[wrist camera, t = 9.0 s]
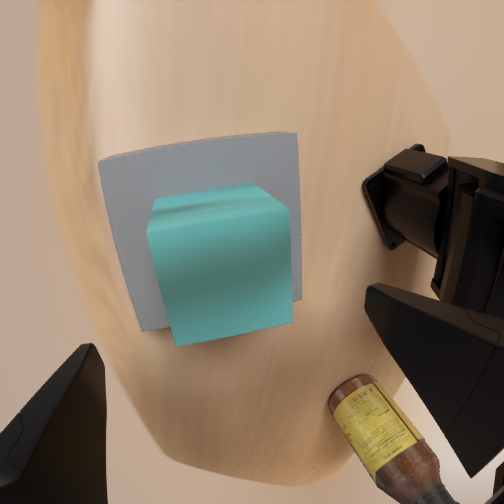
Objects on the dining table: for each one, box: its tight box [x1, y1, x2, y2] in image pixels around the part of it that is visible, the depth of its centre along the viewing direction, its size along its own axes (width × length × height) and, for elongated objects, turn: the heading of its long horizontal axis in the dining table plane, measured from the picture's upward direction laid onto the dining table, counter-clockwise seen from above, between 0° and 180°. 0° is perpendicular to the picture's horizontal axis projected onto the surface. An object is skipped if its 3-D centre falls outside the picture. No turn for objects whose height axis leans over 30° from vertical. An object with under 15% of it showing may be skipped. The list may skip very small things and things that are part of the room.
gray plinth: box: [98, 132, 302, 332], centre depth 17 cm, size 10×10×3 cm
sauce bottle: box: [329, 375, 460, 504], centre depth 21 cm, size 7×6×20 cm
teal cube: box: [146, 183, 293, 347], centre depth 13 cm, size 5×5×5 cm
